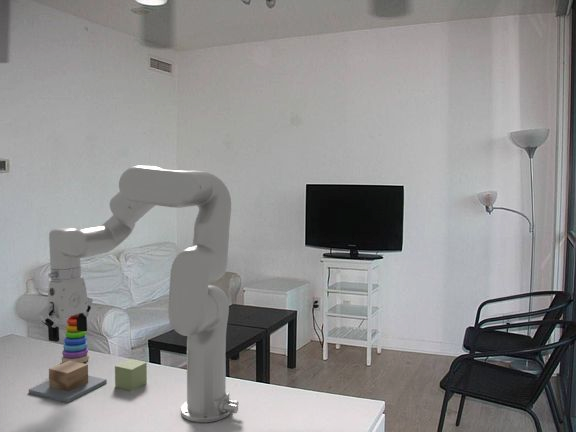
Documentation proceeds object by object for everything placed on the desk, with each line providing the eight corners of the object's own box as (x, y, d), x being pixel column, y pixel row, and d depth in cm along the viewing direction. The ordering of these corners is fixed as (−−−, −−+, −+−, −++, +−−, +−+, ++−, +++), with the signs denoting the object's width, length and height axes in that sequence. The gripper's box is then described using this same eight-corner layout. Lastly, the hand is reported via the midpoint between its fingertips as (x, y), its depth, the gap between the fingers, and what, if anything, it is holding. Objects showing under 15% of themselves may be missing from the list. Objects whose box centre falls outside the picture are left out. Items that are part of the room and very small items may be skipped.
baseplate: (106, 382, 146) (106, 379, 146) (67, 402, 134) (67, 399, 133) (69, 374, 152) (69, 371, 152) (28, 393, 139) (28, 389, 139)
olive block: (146, 383, 147) (146, 362, 146) (132, 391, 141) (132, 369, 141) (130, 379, 149) (129, 359, 149) (115, 387, 144) (114, 366, 143)
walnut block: (88, 381, 144) (88, 364, 144) (68, 391, 138) (67, 373, 138) (69, 377, 147) (69, 360, 147) (49, 386, 141) (48, 368, 141)
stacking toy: (70, 367, 157) (69, 307, 156) (56, 361, 162) (55, 302, 161) (94, 360, 164) (92, 302, 162) (80, 354, 168) (78, 298, 167)
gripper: (49, 280, 131) (52, 347, 132) (100, 269, 146) (102, 328, 148) (28, 278, 134) (31, 343, 135) (80, 267, 149) (82, 325, 151)
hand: (68, 335), depth 141 cm, fingers open, 9 cm apart
